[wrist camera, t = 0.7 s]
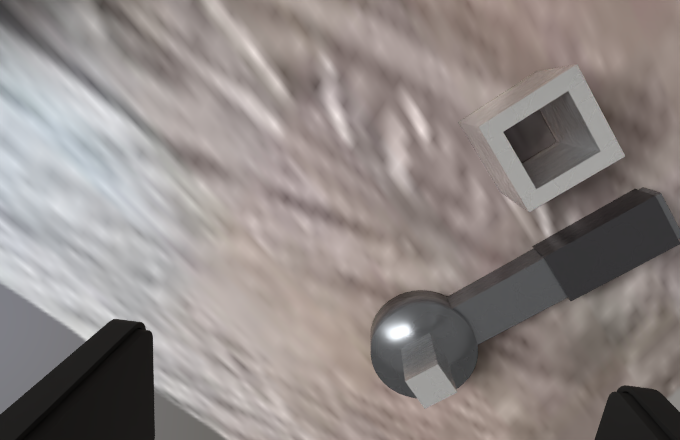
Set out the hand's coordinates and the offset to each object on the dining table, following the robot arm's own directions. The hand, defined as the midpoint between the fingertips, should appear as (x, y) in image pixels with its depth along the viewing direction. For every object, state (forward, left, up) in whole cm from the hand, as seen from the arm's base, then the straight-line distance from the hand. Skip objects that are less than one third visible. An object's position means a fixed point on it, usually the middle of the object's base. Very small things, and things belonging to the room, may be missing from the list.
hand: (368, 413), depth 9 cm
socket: (-11, +3, -24) cm, 27 cm away
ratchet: (-5, +13, -24) cm, 28 cm away
